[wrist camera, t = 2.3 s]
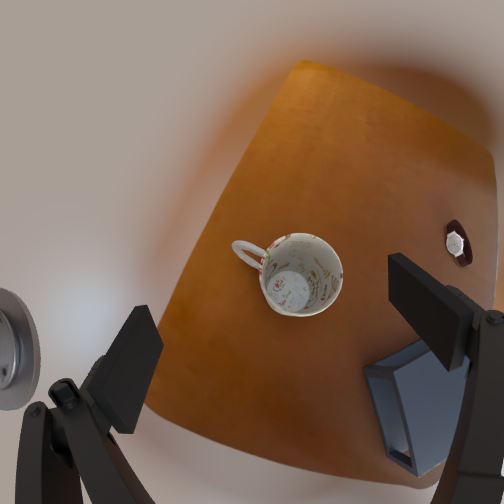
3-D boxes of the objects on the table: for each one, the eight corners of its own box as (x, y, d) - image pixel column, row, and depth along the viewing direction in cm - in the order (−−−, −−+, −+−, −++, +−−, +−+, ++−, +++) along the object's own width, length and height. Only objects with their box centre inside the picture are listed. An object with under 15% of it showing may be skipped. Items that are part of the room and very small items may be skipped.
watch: (437, 227, 42) (449, 218, 38) (455, 222, 42) (467, 213, 39) (453, 271, 39) (467, 264, 36) (471, 264, 40) (484, 257, 36)
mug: (300, 336, 36) (319, 331, 27) (215, 286, 38) (205, 265, 29) (330, 280, 39) (355, 258, 29) (248, 234, 40) (249, 199, 31)
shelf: (387, 457, 31) (418, 477, 22) (362, 367, 35) (393, 371, 26) (463, 408, 32) (501, 413, 24) (443, 324, 37) (482, 316, 28)
